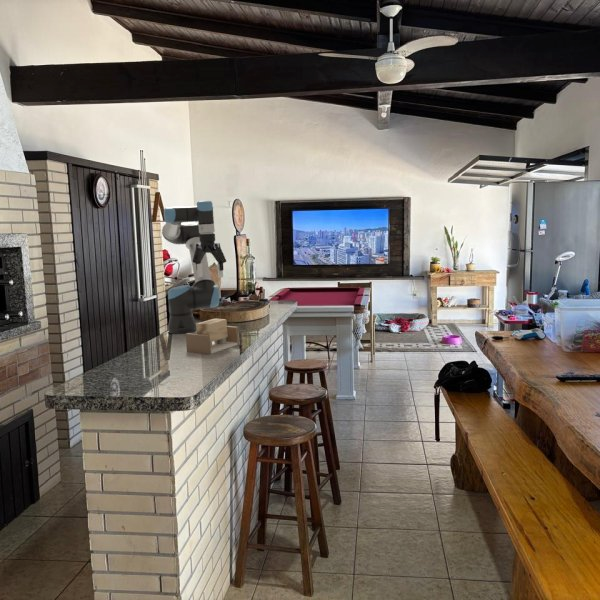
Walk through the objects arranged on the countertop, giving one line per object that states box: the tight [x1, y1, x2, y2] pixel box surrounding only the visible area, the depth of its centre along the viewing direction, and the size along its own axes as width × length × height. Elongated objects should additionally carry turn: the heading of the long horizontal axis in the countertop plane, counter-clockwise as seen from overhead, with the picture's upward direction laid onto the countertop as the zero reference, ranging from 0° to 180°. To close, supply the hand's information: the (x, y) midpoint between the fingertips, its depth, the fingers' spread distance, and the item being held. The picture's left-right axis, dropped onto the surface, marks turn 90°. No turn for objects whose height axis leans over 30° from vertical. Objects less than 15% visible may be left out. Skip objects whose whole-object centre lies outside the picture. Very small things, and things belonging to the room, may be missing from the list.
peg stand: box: [185, 325, 240, 355], centre depth 252 cm, size 13×20×8 cm, turn 145°
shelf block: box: [195, 318, 228, 342], centre depth 252 cm, size 7×12×8 cm, turn 145°
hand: (210, 277), depth 277 cm, fingers open, 13 cm apart
